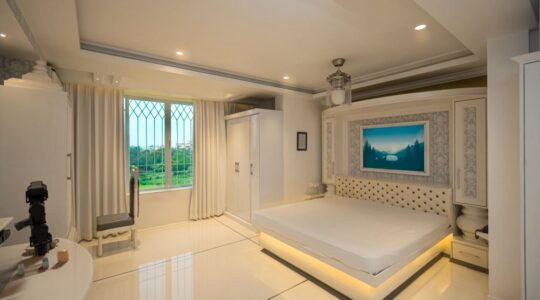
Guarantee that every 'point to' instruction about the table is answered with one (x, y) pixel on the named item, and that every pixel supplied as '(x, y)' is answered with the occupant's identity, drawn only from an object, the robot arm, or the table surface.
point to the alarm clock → (50, 245)
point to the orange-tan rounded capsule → (62, 256)
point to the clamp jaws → (44, 263)
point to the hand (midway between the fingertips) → (39, 241)
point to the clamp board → (33, 270)
